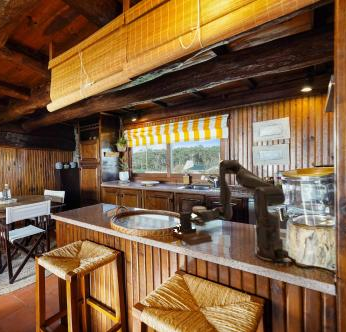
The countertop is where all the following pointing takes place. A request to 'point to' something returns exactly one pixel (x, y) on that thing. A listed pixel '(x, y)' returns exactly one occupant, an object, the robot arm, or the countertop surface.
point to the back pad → (183, 216)
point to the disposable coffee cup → (196, 209)
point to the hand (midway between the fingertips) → (182, 220)
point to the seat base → (192, 235)
